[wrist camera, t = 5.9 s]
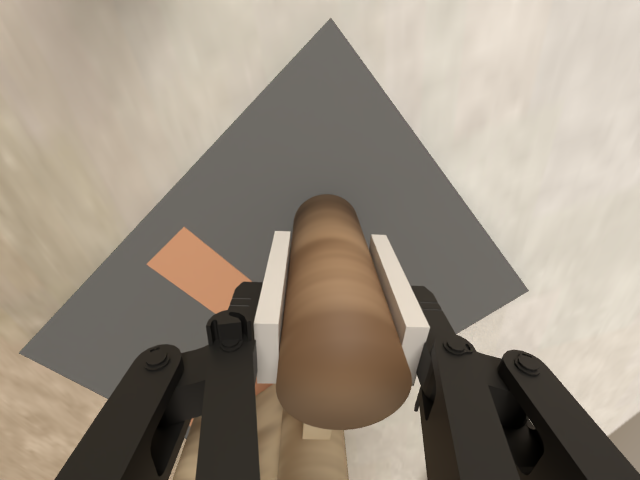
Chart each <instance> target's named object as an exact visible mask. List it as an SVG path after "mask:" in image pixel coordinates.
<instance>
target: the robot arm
mask: <svg viewBox="0 0 640 480" xmlns="http://www.w3.org/2000/svg"><path fill="white" fill-rule="evenodd" d="M369 252H370V255H371V258H372V261H373V263H374V266H375V269H376V272H377V275H378V278H379V281H380V284H381V287H382V290H383V293H384V295H385V298H386V301H387V304H388V307H389V310H390V313H391V316H392V319H393V322H394V325H395V328H396V330H397V333H398V336H399V339H400V342H401V345H402V348H403V351H404V354H405V357H406V360H407V363H408V365H409V368H410V371H411V376H412V386H414V383H415V379H416V375H417V376H418V379H419V382H420V385H421V387H420V390H419V393H418V397H417V400H416V403H415V408H414V411H418V408H419V406H420V415H421V424H422V433H423V442H424V451H425V460H426V469H427V478H428V480H640V474H639V473H638V472H637V471H636V470H635V468H634V467H633V466H632V465H631V464H630V462H629V461H628V460H627V459H626V458H625V457H624V455H623V454H622V453H621V452H620V451H619V450H618V449H617V447H616V446H615V445H614V444H613V443H612V441H611V440H610V439H609V438H608V437H607V436H606V434H605V433H604V432H603V431H602V430H601V429H600V427H599V426H598V425H597V424H596V423H595V422H594V420H593V419H592V418H591V417H590V416H589V415H588V413H587V412H586V411H585V410H584V409H583V408H582V406H581V405H580V404H579V403H578V402H577V401H576V399H575V398H574V397H573V396H572V395H571V394H570V392H569V391H568V390H567V389H566V388H565V387H564V385H563V384H562V383H561V382H560V381H559V380H558V378H557V377H556V376H555V375H554V374H553V373H552V371H551V370H550V369H549V368H548V367H547V366H546V365H545V364H544V363H543V362H542V361H541V360H540V359H538V358H536V357H535V356H533V355H531V354H529V353H526V352H524V351H519V350H510V351H507V352H506V353H505V354H504V355H503V357H502V359H500V358H496V357H493V356H489V355H485V354H482V353H479V352H476V350H475V348H474V347H473V345H472V344H471V343H470V342H469V341H467V340H466V339H464V338H462V337H461V336H458V335H456V333H455V332H454V330H453V328H452V326H451V325H450V323H449V321H448V319H447V318H446V316H445V314H444V312H443V311H442V309H441V307H440V305H439V304H438V302H437V300H436V298H435V296H434V294H433V293H432V292H431V291H429V290H428V289H427V288H426V287H425V286H410V284H409V282H408V280H407V278H406V276H405V274H404V272H403V270H402V267H401V265H400V263H399V261H398V259H397V257H396V255H395V253H394V251H393V249H392V246H391V244H390V242H389V240H388V238H387V236H386V235H373V234H371V239H370V246H369ZM289 260H290V231H275V233H274V238H273V242H272V246H271V251H270V255H269V259H268V264H267V268H266V272H265V277H264V281H263V282H242V283H241V284H240V285H239V286H238V287H237V288H236V289H235V291H234V294H233V297H232V299H231V302H230V306H229V308H228V310H225V311H221V312H219V313H217V314H215V315H213V316H212V317H211V318H210V319H209V320H208V322H207V325H206V331H207V337H208V345H206V346H204V347H202V348H199V349H196V350H192V351H187V352H183V353H181V352H180V349H178V348H177V347H176V346H174V345H170V344H162V345H156V346H154V347H151V348H148V349H147V350H145V351H144V352H142V353H141V354H140V355H139V356H138V357H137V358H136V359H135V360H134V362H133V363H132V365H131V366H130V368H129V369H128V371H127V372H126V374H125V375H124V376H123V378H122V379H121V381H120V382H119V384H118V385H117V387H116V388H115V390H114V391H113V393H112V394H111V396H110V397H109V399H108V400H107V402H106V403H105V405H104V406H103V408H102V409H101V411H100V412H99V414H98V415H97V417H96V418H95V420H94V421H93V423H92V424H91V426H90V427H89V429H88V430H87V432H86V433H85V435H84V436H83V438H82V439H81V441H80V442H79V444H78V445H77V447H76V448H75V450H74V451H73V453H72V454H71V456H70V457H69V459H68V460H67V462H66V463H65V465H64V466H63V468H62V469H61V471H60V472H59V474H58V475H57V477H56V478H55V480H168V479H169V476H170V474H171V471H172V468H173V466H174V463H175V461H176V458H177V456H178V453H179V450H180V448H181V445H182V443H183V440H184V437H185V435H186V432H187V430H188V427H189V424H190V422H191V419H192V418H196V417H199V416H202V418H201V428H200V438H199V448H198V457H197V467H196V477H195V480H260V465H259V448H258V431H257V413H256V396H255V383H256V377H257V383H268V384H276V379H277V370H278V361H279V352H280V343H281V333H282V324H283V315H284V306H285V297H286V287H287V278H288V269H289ZM529 419H530V420H529ZM530 421H531V422H532V423H531V422H530Z"/></svg>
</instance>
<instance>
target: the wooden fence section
mask: <svg viewBox="0 0 640 480" xmlns="http://www.w3.org/2000/svg"><path fill="white" fill-rule="evenodd" d="M411 386H412V376H411V371H410V368H409V365H408V363H407V360H406V357H405V354H404V351H403V348H402V345H401V342H400V339H399V336H398V333H397V330H396V328H395V325H394V322H393V319H392V316H391V313H390V310H389V307H388V304H387V301H386V298H385V295H384V293H383V290H382V287H381V284H380V281H379V278H378V275H377V272H376V269H375V266H374V263H373V261H372V258H371V255H370V252H369V249H368V246H367V243H366V240H365V237H364V234H363V231H362V228H361V226H360V223H359V220H358V217H357V214H356V211H355V210H354V208H353V207H352V205H351V204H350V203H349V202H348V201H346V200H345V199H343V198H341V197H339V196H336V195H331V194H322V195H317V196H314V197H312V198H310V199H308V200H306V201H305V202H304V203H303V204H302V205H301V206H300V207H299V208H298V210H297V212H296V214H295V217H294V223H293V232H292V242H291V251H290V260H289V269H288V278H287V287H286V297H285V306H284V315H283V324H282V333H281V343H280V352H279V361H278V370H277V379H276V394H277V398H278V400H279V402H280V404H281V405H282V407H283V408H284V409H285V411H286V412H287V413H288V414H290V415H291V416H292V417H294V418H295V419H297V420H299V421H300V422H303V437H302V439H320V440H330V436H331V430H348V429H356V428H361V427H365V426H369V425H372V424H374V423H377V422H379V421H381V420H383V419H385V418H387V417H388V416H390V415H391V414H393V413H394V412H395V411H396V410H398V409H399V408H400V407H401V406H402V404H403V403H404V402H405V400H406V399H407V397H408V395H409V393H410V390H411Z"/></svg>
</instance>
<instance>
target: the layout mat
mask: <svg viewBox="0 0 640 480" xmlns="http://www.w3.org/2000/svg"><path fill="white" fill-rule="evenodd" d="M322 194H331V195H336V196H339V197H341V198H343V199H345V200H346V201H348V202H349V203H350V204H351V205H352V207H353V208H354V210H355V211H356V214H357V217H358V220H359V223H360V226H361V228H362V231H363V234H364V237H365V240H366V243H367V246H368V249H369V246H370V239H371V234H373V235H386V236H387V238H388V240H389V242H390V244H391V246H392V249H393V251H394V253H395V255H396V257H397V259H398V261H399V263H400V265H401V267H402V270H403V272H404V274H405V276H406V278H407V280H408V282H409V284H410V286H425V287H426V288H427V289H428V290H429V291H431V292H432V293H433V294H434V296H435V298H436V300H437V302H438V304H439V305H440V307H441V309H442V311H443V312H444V314H445V316H446V318H447V319H448V321H449V323H450V325H451V326H452V328H453V330H454V332H455V333H456V334H457V333H459V332H461V331H462V330H464V329H466V328H467V327H469V326H471V325H472V324H474V323H476V322H477V321H479V320H481V319H482V318H484V317H486V316H487V315H489V314H491V313H492V312H494V311H496V310H497V309H499V308H501V307H502V306H504V305H506V304H507V303H509V302H511V301H513V300H514V299H516V298H518V297H519V296H521V295H523V294H524V293H526V292H528V291H529V290H528V289H527V287H526V286H525V285H524V283H523V282H522V281H521V279H520V278H519V276H518V275H517V274H516V272H515V271H514V270H513V268H512V267H511V265H510V264H509V263H508V261H507V260H506V259H505V257H504V256H503V254H502V253H501V252H500V250H499V249H498V247H497V246H496V245H495V243H494V242H493V241H492V239H491V238H490V236H489V235H488V234H487V232H486V231H485V230H484V228H483V227H482V225H481V224H480V223H479V221H478V220H477V219H476V217H475V216H474V214H473V213H472V212H471V210H470V209H469V208H468V206H467V205H466V203H465V202H464V201H463V199H462V198H461V196H460V195H459V194H458V192H457V191H456V190H455V188H454V187H453V185H452V184H451V183H450V181H449V180H448V179H447V177H446V176H445V174H444V173H443V172H442V170H441V169H440V168H439V166H438V165H437V163H436V162H435V161H434V159H433V158H432V156H431V155H430V154H429V152H428V151H427V150H426V148H425V147H424V145H423V144H422V143H421V141H420V140H419V139H418V137H417V136H416V134H415V133H414V132H413V130H412V129H411V128H410V126H409V125H408V123H407V122H406V121H405V119H404V118H403V116H402V115H401V114H400V112H399V111H398V110H397V108H396V107H395V105H394V104H393V103H392V101H391V100H390V99H389V97H388V96H387V94H386V93H385V92H384V90H383V89H382V88H381V86H380V85H379V83H378V82H377V81H376V79H375V78H374V77H373V75H372V74H371V72H370V71H369V70H368V68H367V67H366V65H365V64H364V63H363V61H362V60H361V59H360V57H359V56H358V54H357V53H356V52H355V50H354V49H353V48H352V46H351V45H350V43H349V42H348V41H347V39H346V38H345V37H344V35H343V34H342V32H341V31H340V30H339V28H338V27H337V25H336V24H335V23H334V21H333V20H332V19H331V18H330V19H329V20H328V21H327V23H326V24H325V25H324V26H323V27H322V28H321V29H320V30H319V31H318V32H317V33H316V34H315V35H314V36H313V38H312V39H311V40H310V41H309V42H308V43H307V44H306V45H305V46H304V47H303V48H302V49H301V50H300V51H299V53H298V54H297V55H296V56H295V57H294V58H293V59H292V60H291V61H290V62H289V63H288V64H287V65H286V67H285V68H284V69H283V70H282V71H281V72H280V73H279V74H278V75H277V76H276V77H275V78H274V79H273V80H272V82H271V83H270V84H269V85H268V86H267V87H266V88H265V89H264V90H263V91H262V92H261V93H260V94H259V96H258V97H257V98H256V99H255V100H254V101H253V102H252V103H251V104H250V105H249V106H248V107H247V108H246V109H245V111H244V112H243V113H242V114H241V115H240V116H239V117H238V118H237V119H236V120H235V121H234V122H233V123H232V125H231V126H230V127H229V128H228V129H227V130H226V131H225V132H224V133H223V134H222V135H221V136H220V137H219V138H218V140H217V141H216V142H215V143H214V144H213V145H212V146H211V147H210V148H209V149H208V150H207V151H206V152H205V154H204V155H203V156H202V157H201V158H200V159H199V160H198V161H197V162H196V163H195V164H194V165H193V166H192V167H191V169H190V170H189V171H188V172H187V173H186V174H185V175H184V176H183V177H182V178H181V179H180V180H179V181H178V183H177V184H176V185H175V186H174V187H173V188H172V189H171V190H170V191H169V192H168V193H167V194H166V195H165V196H164V198H163V199H162V200H161V201H160V202H159V203H158V204H157V205H156V206H155V207H154V208H153V209H152V210H151V212H150V213H149V214H148V215H147V216H146V217H145V218H144V219H143V220H142V221H141V222H140V223H139V224H138V225H137V227H136V228H135V229H134V230H133V231H132V232H131V233H130V234H129V235H128V236H127V237H126V238H125V239H124V241H123V242H122V243H121V244H120V245H119V246H118V247H117V248H116V249H115V250H114V251H113V252H112V253H111V254H110V256H109V257H108V258H107V259H106V260H105V261H104V262H103V263H102V264H101V265H100V266H99V267H98V268H97V270H96V271H95V272H94V273H93V274H92V275H91V276H90V277H89V278H88V279H87V280H86V281H85V282H84V283H83V285H82V286H81V287H80V288H79V289H78V290H77V291H76V292H75V293H74V294H73V295H72V296H71V297H70V299H69V300H68V301H67V302H66V303H65V304H64V305H63V306H62V307H61V308H60V309H59V310H58V311H57V312H56V314H55V315H54V316H53V317H52V318H51V319H50V320H49V321H48V322H47V323H46V324H45V325H44V326H43V327H42V329H41V330H40V331H39V332H38V333H37V334H36V335H35V336H34V337H33V338H32V339H31V340H30V341H29V343H28V344H27V345H26V346H25V347H24V348H23V349H22V350H21V351H20V352H19V354H21V355H23V356H25V357H27V358H29V359H31V360H33V361H35V362H37V363H39V364H41V365H43V366H45V367H47V368H49V369H51V370H53V371H55V372H56V373H58V374H60V375H62V376H64V377H66V378H68V379H70V380H72V381H74V382H76V383H78V384H80V385H82V386H84V387H86V388H88V389H90V390H92V391H94V392H95V393H97V394H99V395H101V396H103V397H105V398H107V399H109V397H110V396H111V394H112V393H113V391H114V390H115V388H116V387H117V385H118V384H119V382H120V381H121V379H122V378H123V376H124V375H125V374H126V372H127V371H128V369H129V368H130V366H131V365H132V363H133V362H134V360H135V359H136V358H137V357H138V356H139V355H140V354H141V353H142V352H144V351H145V350H147V349H148V348H151V347H154V346H156V345H162V344H170V345H174V346H176V347H177V348H178V349H180V352H181V353H183V352H187V351H192V350H196V349H199V348H202V347H204V346H206V345H208V337H207V331H206V325H207V322H208V320H209V319H210V318H211V317H212V316H213V315H215V314H217V313H219V312H221V311H225V310H228V308H229V306H230V302H231V299H232V297H233V294H234V291H235V289H236V288H237V287H238V286H239V285H240V284H241V283H242V282H263V281H264V277H265V272H266V268H267V264H268V259H269V255H270V251H271V246H272V242H273V238H274V233H275V231H290V251H291V242H292V232H293V223H294V217H295V214H296V212H297V210H298V208H299V207H300V206H301V205H302V204H303V203H304V202H305V201H306V200H308V199H310V198H312V197H314V196H317V195H322ZM271 385H273V384H268V383H257V377H256V383H255V396H256V395H258V394H259V393H261V392H262V391H264V390H265V389H267V388H268V387H270V386H271ZM193 419H194V418H192V419H191V422H190V424H189V427H188V430H187V432H186V435H185V437H184V438H185V439H187V436H188V433H189V430H190V427H191V424H192V421H193Z"/></svg>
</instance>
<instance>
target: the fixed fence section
mask: <svg viewBox="0 0 640 480" xmlns="http://www.w3.org/2000/svg"><path fill="white" fill-rule="evenodd" d="M256 413H257V431H258V448H259V465H260V480H349V479H348V469H347V458H346V448H345V438H344V430H331V436H330V440H320V439H302V437H303V422H300V421H299V420H297V419H295V418H294V417H292V416H291V415H290V414H288V413H287V412H286V411H285V409H284V408H283V407H282V405H281V404H280V402H279V400H278V398H277V394H276V384H273V385H271V386H270V387H268V388H267V389H265V390H264V391H262V392H261V393H259V394H258V395H256ZM201 418H202V416H199V417H196V418H194V419H193V421H192V424H191V427H190V430H189V433H188V436H187V439H186V442H185V445H184V448H183V451H182V454H181V457H180V460H179V463H178V466H177V469H176V472H175V475H174V478H173V480H195V477H196V467H197V457H198V448H199V438H200V428H201Z"/></svg>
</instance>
